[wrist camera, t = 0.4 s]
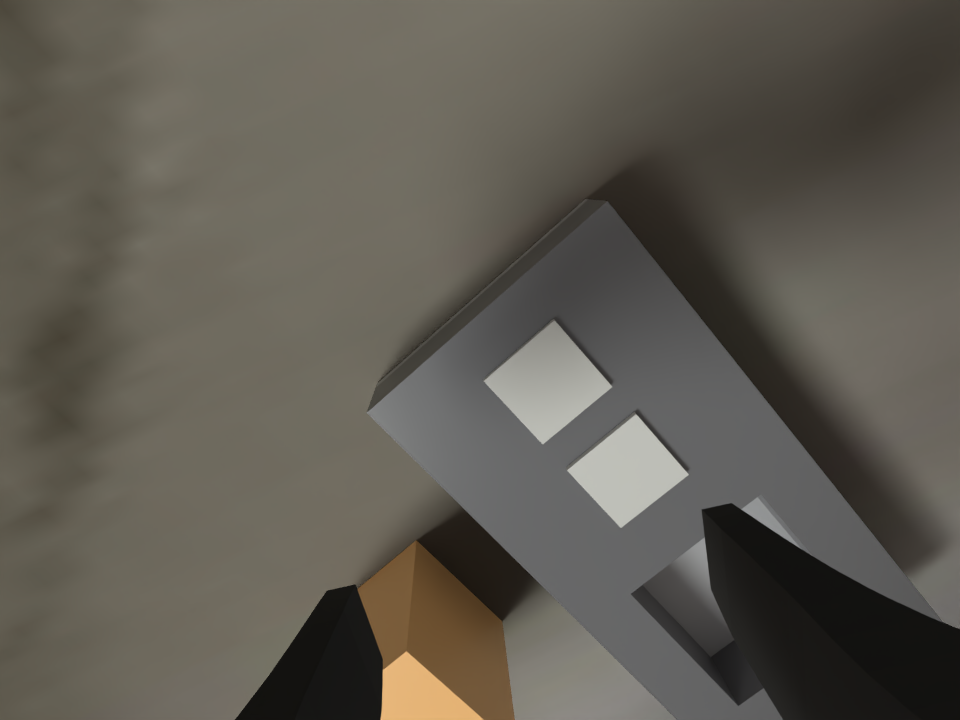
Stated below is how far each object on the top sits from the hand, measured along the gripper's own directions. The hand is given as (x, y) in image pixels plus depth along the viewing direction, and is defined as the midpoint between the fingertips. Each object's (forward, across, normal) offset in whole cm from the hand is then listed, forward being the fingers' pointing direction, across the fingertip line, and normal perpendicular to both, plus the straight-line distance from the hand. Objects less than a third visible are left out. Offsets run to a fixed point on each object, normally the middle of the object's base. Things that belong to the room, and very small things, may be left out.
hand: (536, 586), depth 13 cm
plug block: (+10, +5, +8) cm, 14 cm away
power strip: (+10, -5, +5) cm, 12 cm away
